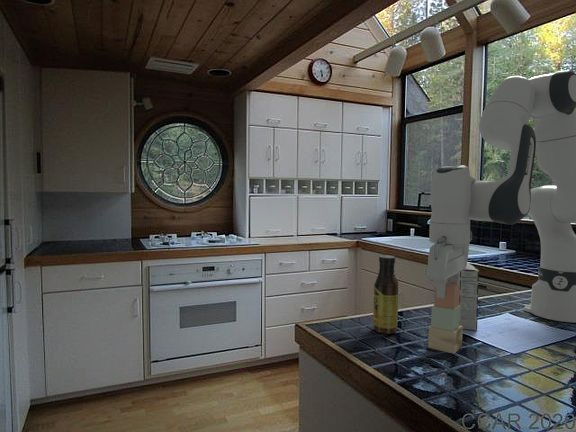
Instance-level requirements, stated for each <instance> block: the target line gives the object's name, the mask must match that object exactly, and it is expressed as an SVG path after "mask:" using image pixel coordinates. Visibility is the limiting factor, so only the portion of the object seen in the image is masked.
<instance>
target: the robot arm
mask: <svg viewBox="0 0 576 432" xmlns="http://www.w3.org/2000/svg"><path fill="white" fill-rule="evenodd" d="M575 110H576V72H574V71H573V70H569V69H568V70H558V71H555V72H554V73H552V72H551V73H548V74H542V75H537V76H532V77H531V78H527V77H524V76H520V75H514V76H513V75H512V76H507V77H506V78H505V79H502V81H501V82H499V83H498V85H497V86H496V88H495V89H494V91H493V92H492V93H491V95H490V97H489V99H488V101H487V102H486V105H485V107H484V110H483V112H482V114H481V117H480V119H479V125H478V130H479V133H480V136H481V137H482V138H483V140H484V141H485V142H486V143H488V144H489V145H490V146H492V147H494V148H496V149H499V150H503V151H506V152H509V153H511V154H510V159H509V164H508V171H507V175H506V176H505V177H502V178H501V179H496V180H479V179H476V178H474V177H472V175H471V173H470V167H469V166H467V165H463V164H457V165H456V164H455V165H453V164H452V165H446V166H445V165H444V166H442V167H438V168H437V169H435V170H434V173H433V176H432V180H431V188H430V197H429V198H430V203H429V204H430V207H431V216H430V219H429V237H428V238H429V240H428V241H429V242H430V243H433V245H431V246H430V248H429V249H428V250H429V251H428V259H427V269H426V270H427V271H426V275H427V279H428V280H429V281H434V287H435V286H436V290H437V297H438V298H442V299H443V298H445V297H446V291H447V290H446V288H445V284H446V283H447V280H448V279H449V281H448V283H453V284H458V280H459V276H460V271H462V270H464V269H465V268H466V265H467V263H468V258H469V250H470V242H471V241H472V240H473V233H472V231H471V220H472V221H479V222H481V221H482V222H491V223H492V222H493V223H494V222H495V223H498V224H505V225H511V226H512V225H515V224H517V223H518V222H520V221H522V220H523V219H524V218H525V217H526V216H527V215H528V217H530V219H531V220H532V221H533V223H534V225H535V227H536V229H537V232H538V236H539V240H540V266H539V267H538V271H537V275H538V276H537V278H538V280H537V281H536V282H534V283H533V284H532V286H531V295H530V303H529V304H527V305H525V306H524V307H523V311H524V312H527V313H531V314H533V315H535V316H537V317H540V318H543V319H547V320H552V321H557V322H565V323H576V233H575V231H574V230H573V226H572V224H576V111H575ZM530 120H531V121H532V120H534V123H533V125H534V127H532V126H530V125H529V121H530ZM533 128H534V129H533ZM535 157H536V159H537V165H538V168H539V169H540V171H541V172H543V173H544V174H547V175H548V176H549V177H550V179H551V180H552V181H553V183H554V184H552V185H551V184H548V185H547V184H546V185H545V184H544V185H542V186H537V187H533V188H531V186H532V178H533V172H534V164H535Z"/></svg>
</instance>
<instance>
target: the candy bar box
mask: <svg viewBox="0 0 576 432" xmlns="http://www.w3.org/2000/svg"><path fill="white" fill-rule="evenodd" d="M479 275H480V270H479V269H478V268H476V267H475V266H474V265H473V264H472V263H471V262H467V265H466V268H465V269H464V270H462V271H460V276H459V280H458V284H460V298H459V305H460V326H463V331H475V330H477V331H478V318H479V315H478V313H479V312H478V311H479V310H478V309H479Z"/></svg>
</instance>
